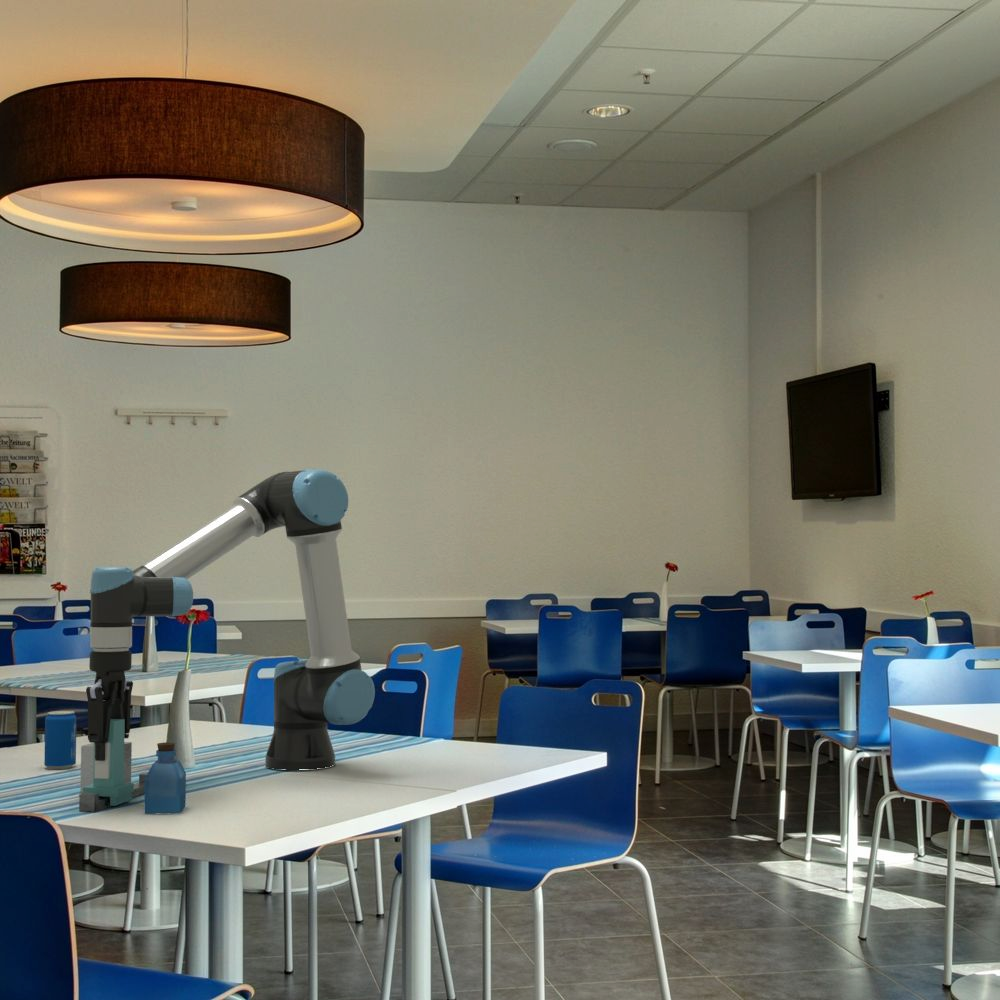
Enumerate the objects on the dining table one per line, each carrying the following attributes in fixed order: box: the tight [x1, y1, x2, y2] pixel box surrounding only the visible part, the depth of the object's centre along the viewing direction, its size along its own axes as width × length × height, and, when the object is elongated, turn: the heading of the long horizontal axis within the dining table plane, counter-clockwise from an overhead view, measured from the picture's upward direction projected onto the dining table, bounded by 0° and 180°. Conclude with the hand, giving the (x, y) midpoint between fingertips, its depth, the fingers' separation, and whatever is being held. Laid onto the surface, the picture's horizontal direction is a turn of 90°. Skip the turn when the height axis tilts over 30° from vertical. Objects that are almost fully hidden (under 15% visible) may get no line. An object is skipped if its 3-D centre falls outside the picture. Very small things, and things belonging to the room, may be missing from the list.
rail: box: [78, 772, 148, 813], centre depth 246 cm, size 3×24×3 cm, turn 168°
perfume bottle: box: [144, 742, 187, 815], centre depth 236 cm, size 6×6×12 cm
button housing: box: [79, 741, 133, 794], centre depth 256 cm, size 7×7×9 cm
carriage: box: [83, 719, 135, 807], centre depth 242 cm, size 7×6×15 cm
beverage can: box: [43, 710, 77, 771], centre depth 283 cm, size 6×6×12 cm
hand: (108, 775), depth 242 cm, fingers closed on carriage, 4 cm apart
